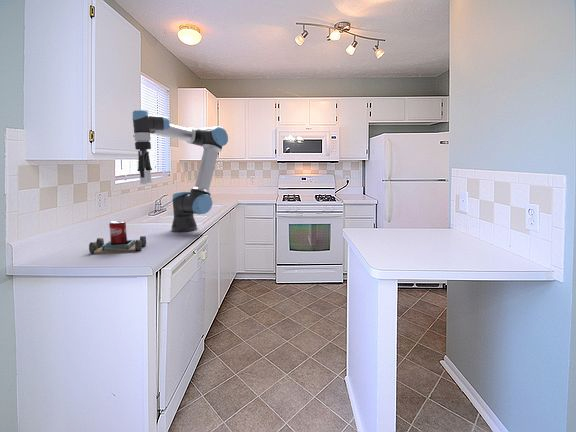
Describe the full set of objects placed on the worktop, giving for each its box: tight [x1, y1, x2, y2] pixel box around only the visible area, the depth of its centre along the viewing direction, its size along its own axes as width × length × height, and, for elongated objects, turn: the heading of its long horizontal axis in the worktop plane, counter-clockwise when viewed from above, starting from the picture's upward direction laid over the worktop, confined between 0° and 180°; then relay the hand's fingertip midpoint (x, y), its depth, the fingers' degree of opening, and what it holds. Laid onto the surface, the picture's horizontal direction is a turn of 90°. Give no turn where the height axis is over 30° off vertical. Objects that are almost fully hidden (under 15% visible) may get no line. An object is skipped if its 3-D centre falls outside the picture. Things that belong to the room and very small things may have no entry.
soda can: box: [108, 220, 128, 245], centre depth 187 cm, size 7×7×12 cm
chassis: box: [88, 235, 147, 255], centre depth 187 cm, size 16×22×5 cm
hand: (146, 183), depth 203 cm, fingers open, 13 cm apart
